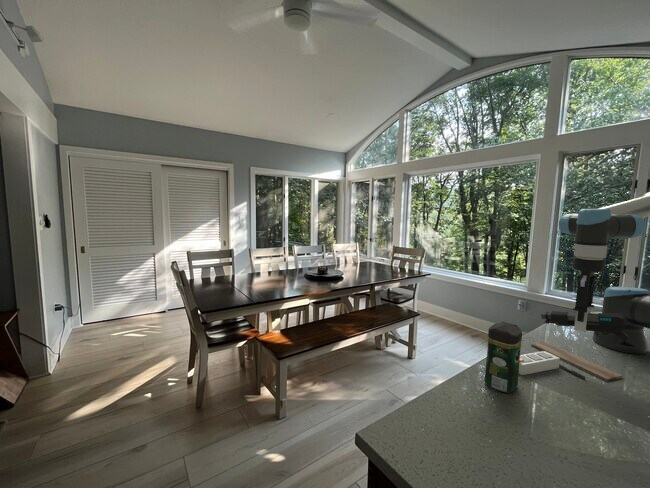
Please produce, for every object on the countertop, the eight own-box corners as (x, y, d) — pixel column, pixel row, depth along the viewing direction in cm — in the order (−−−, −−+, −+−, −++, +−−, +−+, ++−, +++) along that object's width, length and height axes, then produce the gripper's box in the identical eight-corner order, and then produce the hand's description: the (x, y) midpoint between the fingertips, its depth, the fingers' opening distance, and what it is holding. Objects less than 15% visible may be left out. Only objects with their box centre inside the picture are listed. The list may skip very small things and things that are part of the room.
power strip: (547, 359, 101) (549, 348, 100) (587, 378, 90) (588, 366, 89) (508, 366, 96) (509, 355, 95) (544, 388, 84) (545, 375, 84)
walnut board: (544, 343, 113) (545, 341, 113) (621, 377, 90) (622, 375, 90) (531, 345, 111) (531, 343, 111) (606, 381, 88) (607, 378, 88)
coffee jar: (491, 373, 92) (496, 317, 90) (520, 384, 86) (526, 325, 84) (479, 384, 86) (484, 325, 84) (510, 398, 80) (516, 334, 78)
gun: (631, 341, 85) (619, 308, 86) (549, 343, 98) (539, 314, 99) (630, 336, 88) (618, 304, 89) (551, 339, 101) (541, 311, 102)
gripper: (579, 253, 99) (572, 318, 102) (567, 259, 88) (560, 332, 91) (609, 256, 94) (601, 324, 96) (600, 263, 82) (592, 340, 85)
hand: (581, 328), depth 94 cm, fingers closed on gun, 5 cm apart
